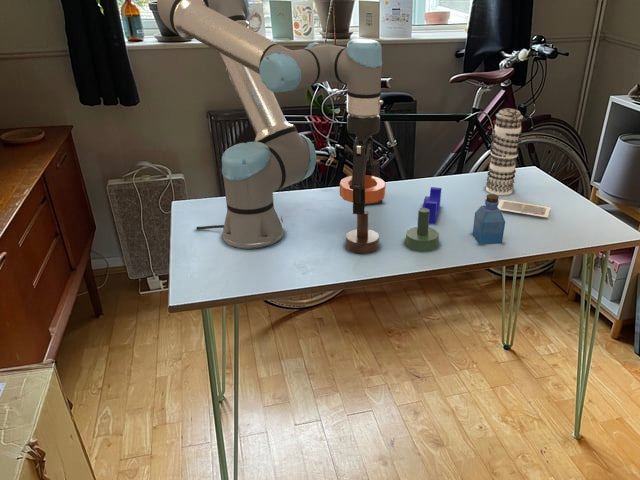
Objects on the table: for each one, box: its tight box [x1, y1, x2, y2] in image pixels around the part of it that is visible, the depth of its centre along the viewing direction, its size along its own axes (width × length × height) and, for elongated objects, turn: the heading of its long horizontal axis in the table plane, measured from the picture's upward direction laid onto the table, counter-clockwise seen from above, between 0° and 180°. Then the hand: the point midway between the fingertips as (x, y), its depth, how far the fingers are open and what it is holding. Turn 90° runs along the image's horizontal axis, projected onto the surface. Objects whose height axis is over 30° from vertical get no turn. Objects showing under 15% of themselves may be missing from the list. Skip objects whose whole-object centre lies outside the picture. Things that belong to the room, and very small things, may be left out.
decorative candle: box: [485, 107, 524, 196], centre depth 178 cm, size 9×9×25 cm
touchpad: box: [497, 198, 552, 218], centre depth 170 cm, size 8×15×2 cm, turn 70°
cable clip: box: [422, 186, 442, 225], centre depth 166 cm, size 12×4×6 cm, turn 168°
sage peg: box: [405, 207, 440, 252], centre depth 149 cm, size 8×8×10 cm
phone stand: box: [365, 158, 383, 206], centre depth 172 cm, size 9×6×12 cm, turn 19°
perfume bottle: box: [472, 193, 506, 245], centre depth 152 cm, size 6×6×12 cm
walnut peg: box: [345, 209, 380, 255], centre depth 147 cm, size 8×8×10 cm
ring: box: [339, 175, 387, 204], centre depth 141 cm, size 11×11×3 cm
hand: (362, 204), depth 143 cm, fingers closed on ring, 11 cm apart
